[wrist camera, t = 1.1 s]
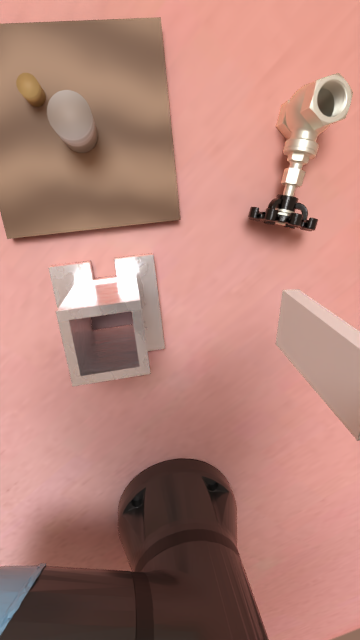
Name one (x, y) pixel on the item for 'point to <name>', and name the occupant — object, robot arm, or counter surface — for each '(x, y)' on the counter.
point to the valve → (304, 144)
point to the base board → (116, 111)
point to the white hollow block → (103, 299)
